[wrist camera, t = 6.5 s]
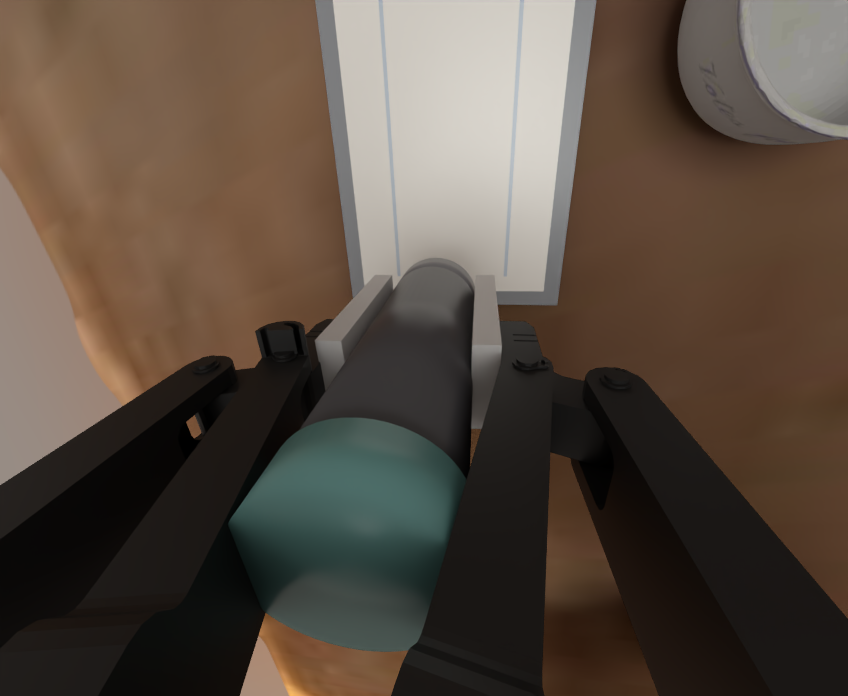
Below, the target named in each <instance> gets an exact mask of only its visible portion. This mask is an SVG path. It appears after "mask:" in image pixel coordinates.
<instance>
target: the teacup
mask: <svg viewBox="0 0 848 696" xmlns="http://www.w3.org/2000/svg"><path fill="white" fill-rule="evenodd" d="M677 52H678V69H679V75H680V80H681V84H682V86H683V89H684V91H685V94H686V97H687V98H688V100H689V102H690V104H691V105H692V107H693V109H694V110H695V111H696V113H697V114H698V115H699V116H700V117H701V118H702V120H703V121H704V122H706V123H707V124H708V125H710V126H711V127H712V128H714V129H715V130H717V131H719V132H721V133H722V134H724V135H727V136H729V137H732V138H734V139H737V140H741V141H745V142H750V143H756V144H767V145H787V144H803V143H815V142H826V141H833V140H841V139H844V140H848V0H686V3H685V6H684V10H683V14H682V18H681V23H680V28H679V35H678V50H677Z"/></svg>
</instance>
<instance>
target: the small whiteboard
mask: <svg viewBox="0 0 848 696" xmlns="http://www.w3.org/2000/svg"><path fill="white" fill-rule="evenodd" d="M315 2H316V10H317V18H318V26H319V33H320V41H321V49H322V57H323V65H324V73H325V81H326V89H327V97H328V104H329V112H330V120H331V128H332V136H333V144H334V152H335V160H336V168H337V175H338V183H339V191H340V199H341V207H342V215H343V223H344V231H345V239H346V246H347V254H348V262H349V270H350V278H351V286H352V294H353V298H354V297H355V296H356V295H357V294H358V293H359V292H360V291H361V290H362V289H363V287H364V286H365V285H366V284H367V283H368V282H369V281H370V280H371V279H372V278H373V277H374V275H392V279H393V290H394V289H395V287H396V286H397V284H398V283H399V281H400V280H401V278H402V277H403V275H404V274H405V273H406V271H407V270H408V269H409V268H410V267H411V266H413V265H414V264H415V263H417V262H419V261H422V260H424V259H429V258H443V259H448V260H451V261H453V262H455V263H457V264H458V265H460V266H461V267H462V268H464V269H465V270H466V271H467V273H468V274H469V275H470V277H471V278H472V280H473V282H474V285H475V280H476V275H494V277H495V286H496V296H497V305H557V302H558V295H559V287H560V279H561V271H562V264H563V256H564V248H565V240H566V232H567V225H568V217H569V209H570V201H571V193H572V186H573V178H574V170H575V162H576V154H577V147H578V139H579V131H580V123H581V115H582V108H583V100H584V92H585V84H586V76H587V69H588V61H589V53H590V45H591V38H592V30H593V22H594V14H595V6H596V0H315Z"/></svg>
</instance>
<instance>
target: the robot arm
mask: <svg viewBox="0 0 848 696" xmlns="http://www.w3.org/2000/svg"><path fill="white" fill-rule="evenodd" d="M392 292H393V279H392V275H374V277H373V278H372V279H371V280H370V281H369V282H368V283H367V284H366V285H365V286H364V287H363V289H362V290H361V291H360V292H359V293H358V294H357V295H356V296H355V297H354V298H353V299H352V300H351V302H350V303H349V304H348V305H347V306H346V307H345V308H344V309H343V310H342V311H341V312H340V314H339V315H338V316H337V317H336V318H335V319H326V320H324V321H322V322H320V323H318V324H316V325H315V326H314V327H313V328H312V329H311V330H310V332H308V333H307V334H306V335H305V330H304V325H303V324H301V323H300V322H295V321H282V322H275V323H271V324H268V325H265V326H263V327H261V328H259V329H258V330H256V331H255V332H256V336H257V340H258V344H259V348H260V351H261V355H262V359H261V360H260V361H259V363H258V364H257V365H256V367H255V368H249V369H241V370H235V367H234V364H233V361H232V359H231V358H229V357H226V356H209V357H208V356H207V357H203V358H201V359H199V360H196V361H194V362H192V363H190V364H188V365H186V366H184V367H183V368H181V369H180V370H178V371H177V372H175V373H174V374H172V375H170V376H169V377H167V378H166V379H164V380H163V381H161V382H160V383H158V384H157V385H155V386H153V387H152V388H150V389H149V390H147V391H146V392H144V393H143V394H141V395H139V396H138V397H136V398H135V399H133V400H132V401H130V402H129V403H127V404H126V405H124V406H122V407H121V408H119V409H118V410H116V411H115V412H113V413H112V414H110V415H108V416H107V417H105V418H104V419H102V420H101V421H99V422H98V423H96V424H95V425H93V426H91V427H90V428H88V429H87V430H86V431H84V432H82V433H81V434H79V435H77V436H76V437H74V438H73V439H71V440H70V441H68V442H67V443H65V444H64V445H62V446H60V447H59V448H57V449H56V450H55V451H53V452H51V453H50V454H48V455H46V456H45V457H43V458H42V459H40V460H39V461H37V462H36V463H34V464H32V465H31V466H29V467H28V468H26V469H25V470H23V471H22V472H20V473H19V474H17V475H16V476H14V477H12V478H11V479H9V480H8V481H6V482H5V483H3V484H2V485H0V696H240V693H241V689H242V686H243V683H244V679H245V676H246V673H247V670H248V667H249V664H250V660H251V657H252V654H253V651H254V648H255V644H256V641H257V638H258V635H259V632H260V629H261V625H262V622H263V619H264V616H265V613H266V612H264V611H263V610H262V608H261V606H260V603H259V601H258V598H257V596H256V593H255V591H254V588H253V586H252V583H251V581H250V578H249V576H248V574H247V571H246V569H245V566H244V564H243V561H242V559H241V556H240V554H239V551H238V549H237V546H236V544H235V541H234V539H233V536H232V534H231V531H230V529H229V526H228V523H229V521H230V519H231V518H232V516H233V515H234V513H235V512H236V511H237V509H238V508H239V506H240V505H241V503H242V502H243V501H244V499H245V498H246V496H247V495H248V493H249V492H250V490H251V489H252V488H253V486H254V485H255V483H256V482H257V480H258V479H259V478H260V476H261V475H262V473H263V472H264V470H265V469H266V468H267V466H268V465H269V463H270V462H271V460H272V459H273V458H274V456H275V455H276V453H277V452H278V450H279V449H280V447H281V446H282V445H283V444H284V443H285V442H286V440H287V439H288V438H290V437H291V436H292V435H293V434H294V433H296V432H297V431H299V430H300V428H301V427H302V425H303V424H304V422H305V421H306V419H307V418H308V416H309V415H310V413H311V412H312V410H313V409H314V407H315V406H316V404H317V403H318V401H319V400H320V398H321V397H322V395H323V394H324V392H325V391H326V390H327V388H328V387H329V385H330V384H331V382H332V381H333V379H334V378H335V376H336V375H337V373H338V372H339V370H340V369H341V367H342V366H343V364H344V363H345V361H346V360H347V358H348V357H349V355H350V354H351V352H352V351H353V349H354V348H355V346H356V345H357V344H358V342H359V341H360V339H361V338H362V336H363V335H364V333H365V332H366V330H367V329H368V327H369V326H370V324H371V323H372V321H373V320H374V318H375V317H376V315H377V314H378V312H379V311H380V309H381V308H382V306H383V305H384V303H385V302H386V300H387V299H388V298H389V296H390V295H391V293H392ZM471 376H472V382H473V397H472V423H471V429H481V432H480V436H479V439H478V442H477V446H476V449H475V453H474V456H473V460H472V463H471V466H470V470H469V473H468V477H467V480H466V484H465V487H464V490H463V494H462V497H461V501H460V504H459V507H458V511H457V514H456V518H455V521H454V525H453V528H452V531H451V535H450V538H449V542H448V545H447V549H446V552H445V555H444V559H443V562H442V566H441V569H440V573H439V576H438V579H437V583H436V586H435V590H434V593H433V596H432V600H431V603H430V607H429V610H428V614H427V617H426V620H425V624H424V627H423V630H422V633H421V635H420V638H419V640H418V642H417V643H416V644H414V645H413V646H412V647H410V649H409V651H408V653H407V655H406V657H405V659H404V661H403V663H402V666H401V668H400V671H399V674H398V677H397V680H396V682H395V685H394V688H393V692H392V695H391V696H544V692H543V688H542V661H543V634H544V607H545V580H546V553H547V526H548V499H549V472H550V452H552V453H555V454H559V455H562V456H566V457H569V458H571V465H572V467H573V470H574V473H575V475H576V478H577V481H578V483H579V486H580V489H581V491H582V494H583V496H584V499H585V502H586V504H587V507H588V510H589V512H590V515H591V518H592V520H593V523H594V525H595V528H596V531H597V533H598V536H599V539H600V541H601V544H602V547H603V549H604V552H605V555H606V557H607V560H608V562H609V565H610V568H611V570H612V573H613V576H614V578H615V581H616V584H617V586H618V589H619V592H620V594H621V597H622V599H623V602H624V605H625V607H626V610H627V613H628V615H629V618H630V621H631V623H632V626H633V628H634V631H635V634H636V636H637V639H638V642H639V644H640V647H641V650H642V652H643V655H644V658H645V660H646V663H647V665H648V668H649V671H650V673H651V676H652V679H653V681H654V684H655V687H656V689H657V692H658V695H659V696H848V619H847V617H846V616H845V615H844V614H843V613H842V612H841V610H840V609H839V608H838V607H837V606H836V605H835V603H834V602H833V601H832V600H831V599H830V597H829V596H828V595H827V594H826V593H825V592H824V590H823V589H822V588H821V587H820V586H819V585H818V583H817V582H816V581H815V580H814V579H813V578H812V576H811V575H810V574H809V573H808V572H807V571H806V569H805V568H804V567H803V566H802V565H801V564H800V562H799V561H798V560H797V559H796V558H795V557H794V555H793V554H792V553H791V552H790V551H789V549H788V548H787V547H786V546H785V545H784V544H783V542H782V541H781V540H780V539H779V538H778V537H777V535H776V534H775V533H774V532H773V531H772V530H771V528H770V527H769V526H768V525H767V524H766V523H765V521H764V520H763V519H762V518H761V517H760V516H759V514H758V513H757V512H756V511H755V510H754V508H753V507H752V506H751V505H750V504H749V503H748V501H747V500H746V499H745V498H744V497H743V496H742V494H741V493H740V492H739V491H738V490H737V489H736V487H735V486H734V485H733V484H732V483H731V482H730V480H729V479H728V478H727V477H726V476H725V475H724V473H723V472H722V471H721V470H720V469H719V467H718V466H717V465H716V464H715V463H714V462H713V460H712V459H711V458H710V457H709V456H708V455H707V453H706V452H705V451H704V450H703V449H702V448H701V446H700V445H699V444H698V443H697V442H696V441H695V439H694V438H693V437H692V436H691V435H690V434H689V432H688V431H687V430H686V429H685V428H684V427H683V425H682V424H681V423H680V422H679V421H678V419H677V418H676V417H675V416H674V415H673V414H672V412H671V411H670V410H669V409H668V408H667V407H666V405H665V404H664V403H663V402H662V401H661V400H660V398H659V397H658V396H657V395H656V394H655V393H654V391H653V390H652V389H651V388H650V387H649V386H648V384H647V383H646V382H645V381H644V380H643V379H641V378H640V377H639V376H637V375H635V374H633V373H631V372H629V371H627V370H624V369H622V370H621V369H620V368H608V367H604V368H595V369H593V370H590V371H589V372H588V373H587V374H586V377H585V381H581V380H576V379H572V378H568V377H564V376H561V375H559V374H556V373H555V372H553V365H552V362H550V361H549V360H548V359H547V358H545V357H543V356H542V353H541V350H540V346H539V343H538V340H537V337H536V333H535V330H534V328H533V327H532V326H531V325H530V324H528V323H527V322H521V321H499V314H498V305H497V296H496V286H495V277H494V275H476V280H475V299H474V318H473V337H472V372H471ZM194 415H195V417H196V419H197V422H198V424H199V427H200V430H201V432H202V433H201V434H200V435H199V436H198V437H196V438H193V437H192V436H191V433H190V431H189V428H188V426H187V424H186V421H188V420H189V419H190V418H191V417H193V416H194Z"/></svg>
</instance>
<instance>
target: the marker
mask: <svg viewBox="0 0 848 696" xmlns="http://www.w3.org/2000/svg"><path fill="white" fill-rule="evenodd" d="M474 299H475V285H474V282H473V280H472V278H471V277H470V275H469V274H468V273H467V271H466V270H465V269H464V268H462V267H461V266H460V265H458V264H457V263H455V262H453V261H451V260H448V259H443V258H429V259H424V260H422V261H419V262H417V263H415V264H414V265H413V266H411V267H410V268H409V269H408V270H407V271H406V273H405V274H404V275H403V277H402V278H401V280H400V281H399V283H398V284H397V286H396V287H395V289H394V290H393V292H392V293H391V295H390V296H389V298H388V299H387V300H386V302H385V303H384V305H383V306H382V308H381V309H380V311H379V312H378V314H377V315H376V317H375V318H374V320H373V321H372V323H371V324H370V326H369V327H368V329H367V330H366V332H365V333H364V335H363V336H362V338H361V339H360V341H359V342H358V344H357V345H356V346H355V348H354V349H353V351H352V352H351V354H350V355H349V357H348V358H347V360H346V361H345V363H344V364H343V366H342V367H341V369H340V370H339V372H338V373H337V375H336V376H335V378H334V379H333V381H332V382H331V384H330V385H329V387H328V388H327V390H326V391H325V392H324V394H323V395H322V397H321V398H320V400H319V401H318V403H317V404H316V406H315V407H314V409H313V410H312V412H311V413H310V415H309V416H308V418H307V419H306V421H305V422H304V424H303V425H302V427H301V428H300V430H299V431H297V432H296V433H294V434H293V435H292V436H291V437H290V438H288V439H287V440H286V442H285V443H284V444H283V445H282V446H281V447H280V449H279V450H278V452H277V453H276V455H275V456H274V458H273V459H272V460H271V462H270V463H269V465H268V466H267V468H266V469H265V470H264V472H263V473H262V475H261V476H260V478H259V479H258V480H257V482H256V483H255V485H254V486H253V488H252V489H251V490H250V492H249V493H248V495H247V496H246V498H245V499H244V501H243V502H242V503H241V505H240V506H239V508H238V509H237V511H236V512H235V513H234V515H233V516H232V518H231V519H230V521H229V523H228V526H229V529H230V531H231V534H232V536H233V539H234V541H235V544H236V546H237V549H238V551H239V554H240V556H241V559H242V561H243V564H244V566H245V569H246V571H247V574H248V576H249V578H250V581H251V583H252V586H253V588H254V591H255V593H256V596H257V598H258V601H259V603H260V606H261V608H262V610H263V611H264V612H266V613H267V614H268V615H270V616H271V617H273V618H275V619H276V620H278V621H279V622H281V623H283V624H285V625H286V626H288V627H290V628H292V629H294V630H296V631H298V632H300V633H303V634H305V635H307V636H310V637H312V638H315V639H318V640H321V641H324V642H327V643H330V644H334V645H338V646H342V647H347V648H352V649H358V650H366V651H381V652H391V651H405V650H409V649H410V647H412V646H413V645H414V644H416V643H417V642H418V640H419V638H420V635H421V633H422V630H423V627H424V624H425V620H426V617H427V614H428V610H429V607H430V603H431V600H432V596H433V593H434V590H435V586H436V583H437V579H438V576H439V573H440V569H441V566H442V562H443V559H444V555H445V552H446V549H447V545H448V542H449V538H450V535H451V531H452V528H453V525H454V521H455V518H456V514H457V511H458V507H459V504H460V501H461V497H462V494H463V490H464V487H465V484H466V480H467V477H468V473H469V470H470V449H471V423H472V397H473V382H472V376H471V372H472V337H473V318H474Z"/></svg>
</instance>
